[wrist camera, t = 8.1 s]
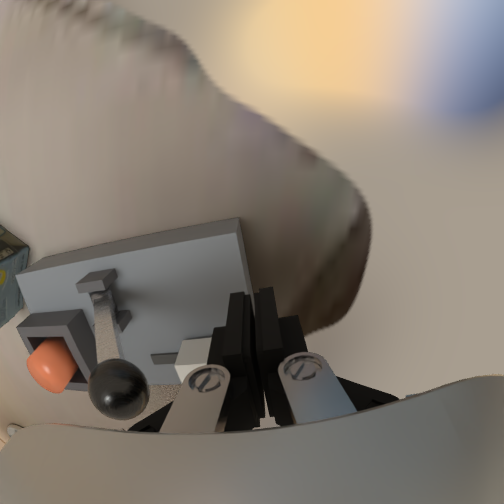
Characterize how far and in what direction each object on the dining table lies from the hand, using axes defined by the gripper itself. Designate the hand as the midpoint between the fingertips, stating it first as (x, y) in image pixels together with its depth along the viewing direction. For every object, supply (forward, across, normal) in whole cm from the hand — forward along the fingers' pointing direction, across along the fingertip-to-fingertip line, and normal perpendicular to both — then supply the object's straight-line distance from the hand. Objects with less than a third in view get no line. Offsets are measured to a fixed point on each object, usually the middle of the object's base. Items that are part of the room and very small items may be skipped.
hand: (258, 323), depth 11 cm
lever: (+4, +9, 0) cm, 10 cm away
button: (+4, +15, +3) cm, 16 cm away
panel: (+9, +9, +2) cm, 13 cm away
